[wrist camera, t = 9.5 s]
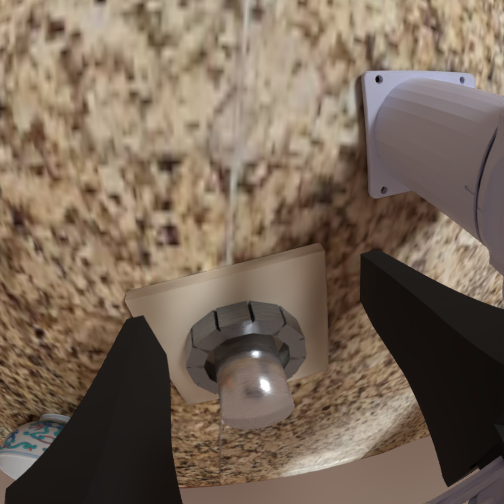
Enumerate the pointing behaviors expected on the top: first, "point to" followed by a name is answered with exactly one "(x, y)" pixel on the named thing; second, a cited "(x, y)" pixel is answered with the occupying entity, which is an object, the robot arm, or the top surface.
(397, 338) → the robot arm
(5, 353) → the top surface
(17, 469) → the chinaware
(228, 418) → the cylinder
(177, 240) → the top surface
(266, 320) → the ring collar
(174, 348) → the birch board
